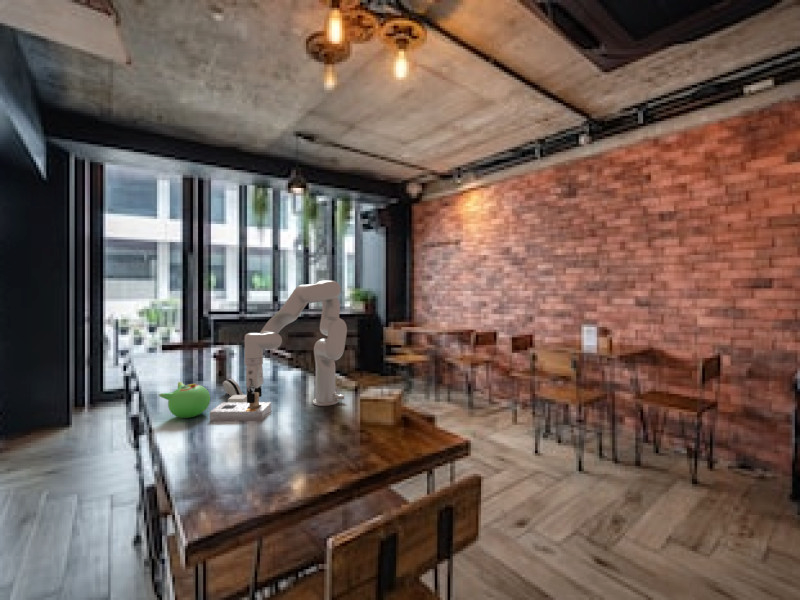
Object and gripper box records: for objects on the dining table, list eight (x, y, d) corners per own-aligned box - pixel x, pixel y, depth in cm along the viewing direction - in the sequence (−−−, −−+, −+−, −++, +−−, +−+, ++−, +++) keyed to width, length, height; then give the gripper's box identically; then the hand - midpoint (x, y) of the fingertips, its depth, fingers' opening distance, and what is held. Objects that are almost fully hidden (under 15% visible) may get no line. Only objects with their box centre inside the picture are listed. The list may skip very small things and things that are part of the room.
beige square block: (248, 405, 200) (248, 394, 200) (243, 409, 194) (243, 398, 193) (233, 405, 200) (233, 394, 200) (228, 409, 193) (228, 398, 193)
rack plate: (271, 410, 191) (271, 401, 191) (262, 420, 177) (262, 411, 177) (222, 411, 191) (222, 402, 191) (209, 421, 177) (209, 411, 177)
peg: (260, 414, 186) (260, 392, 186) (257, 417, 182) (257, 394, 182) (251, 414, 186) (251, 392, 186) (248, 417, 182) (248, 394, 182)
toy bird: (198, 423, 174) (197, 388, 174) (157, 423, 174) (157, 388, 174) (216, 410, 192) (216, 378, 192) (180, 410, 192) (179, 378, 192)
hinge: (246, 398, 213) (239, 380, 211) (237, 402, 210) (230, 385, 208) (235, 391, 226) (229, 375, 223) (227, 395, 223) (220, 379, 221)
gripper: (256, 364, 175) (256, 405, 176) (268, 357, 192) (268, 394, 193) (238, 365, 175) (238, 405, 175) (251, 357, 192) (252, 394, 193)
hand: (254, 399), depth 184 cm, fingers open, 9 cm apart
